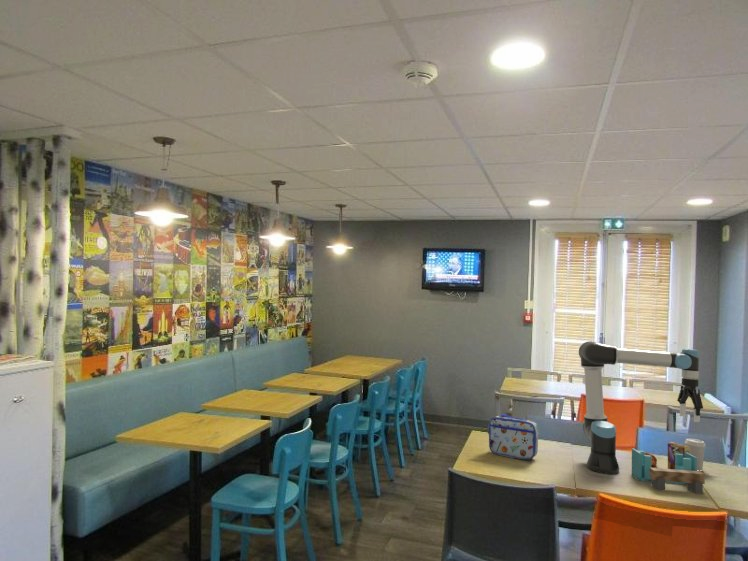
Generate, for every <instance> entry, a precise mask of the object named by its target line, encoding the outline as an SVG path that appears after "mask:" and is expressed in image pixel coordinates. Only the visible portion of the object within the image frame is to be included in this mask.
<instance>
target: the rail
mask: <svg viewBox="0 0 748 561" xmlns="http://www.w3.org/2000/svg"><path fill="white" fill-rule="evenodd" d="M649 477H650V478H651V479H653V480H657V478H664V479H665V481H671V482H683V483H695V481H702V482H703V485H705V484H706V483H705V482H706V480H705V477H706V476H705V473H703V472H702V471H689V470H676V469H668V468H659V467H655V468H650V474H649Z"/></svg>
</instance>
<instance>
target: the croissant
mask: <svg viewBox="0 0 748 561" xmlns="http://www.w3.org/2000/svg"><path fill="white" fill-rule="evenodd" d="M644 452H645V451H644ZM645 455H650V456H652V467H651V468H657V467H656V466H657V464H658V463H657V462H658V458H657V457H656V456H655V455H654V454H652V453H650V452H645Z"/></svg>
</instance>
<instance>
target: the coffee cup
mask: <svg viewBox="0 0 748 561" xmlns="http://www.w3.org/2000/svg"><path fill="white" fill-rule="evenodd" d="M684 445H686V446H689V454H691V455H693V456H695V457H697V470H699V471H700V470H702V471H703V470H704V469H703V468H704V458H705V457H704V456H705V450H706V449H705V448H706V447H707V446H706V443H705V442H704V441H703V440H701V439H696V438H686V439H685V441H684ZM700 472H701V471H700Z"/></svg>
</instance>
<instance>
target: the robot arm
mask: <svg viewBox="0 0 748 561" xmlns="http://www.w3.org/2000/svg"><path fill="white" fill-rule="evenodd" d="M578 355H579V358H580V366H581V367H582V368H583V370H584V386H585V404H586V413H584V416H583V423H582V431H583V434H584V435H585V436H586V438H588V440H589V441H590V454H589V456H588V459H587V461H586V467H587V469H588V470H591V471H593V472H596V473H600V474H607V475H615V474H620V466H619V462H618V460H617V455H616V450H617V449H616V447H617V446H616V444H617V441H616V439H617V429H616V428H617V427H616V426H615V424H613V423H611V422H609V421H608V416H607V415H606V414H605V412H604V411H605V410H604V394H603V393H604V392H603V376H602V374H603V373H602V371H603V368H605V365H613V366H614V365H616V364H623V365H624V364H627V365H639V366H650V367H660V368H672V369H673V368H674V369H680V370H681V377H682V378H681V385H680V389H679V393H678V397H677V400H676V401H677V402H678V403H679V416H680V417H686V416H687V409H686V408H687V405H686V404H687V400H688V399H689V398H690V399H691V402H692V404H693V422H694V423H700V422H701V410H703V409H704V406H703V400H702V398H701V391H700V389H699V388H698V389H697V388H696V387H699V384H700V383H699V374H700V372H699V371H700V370H699V366H700V365H699V362H700V360H699V359H700V354H699V350H697V349H693V348H683V349H682V350H681V351H680V352H679V351H667V350H664V351H663V350H662V351H661V350H660V351H654V350H653V351H651V350H641V349H629V348H618V347H616V346H615V345H608V344H603V343H600V342H596V341H592V340H590V341H589V340H588V341H585V342H583V343H582V344H581V345H580V346H579V349H578Z"/></svg>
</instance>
